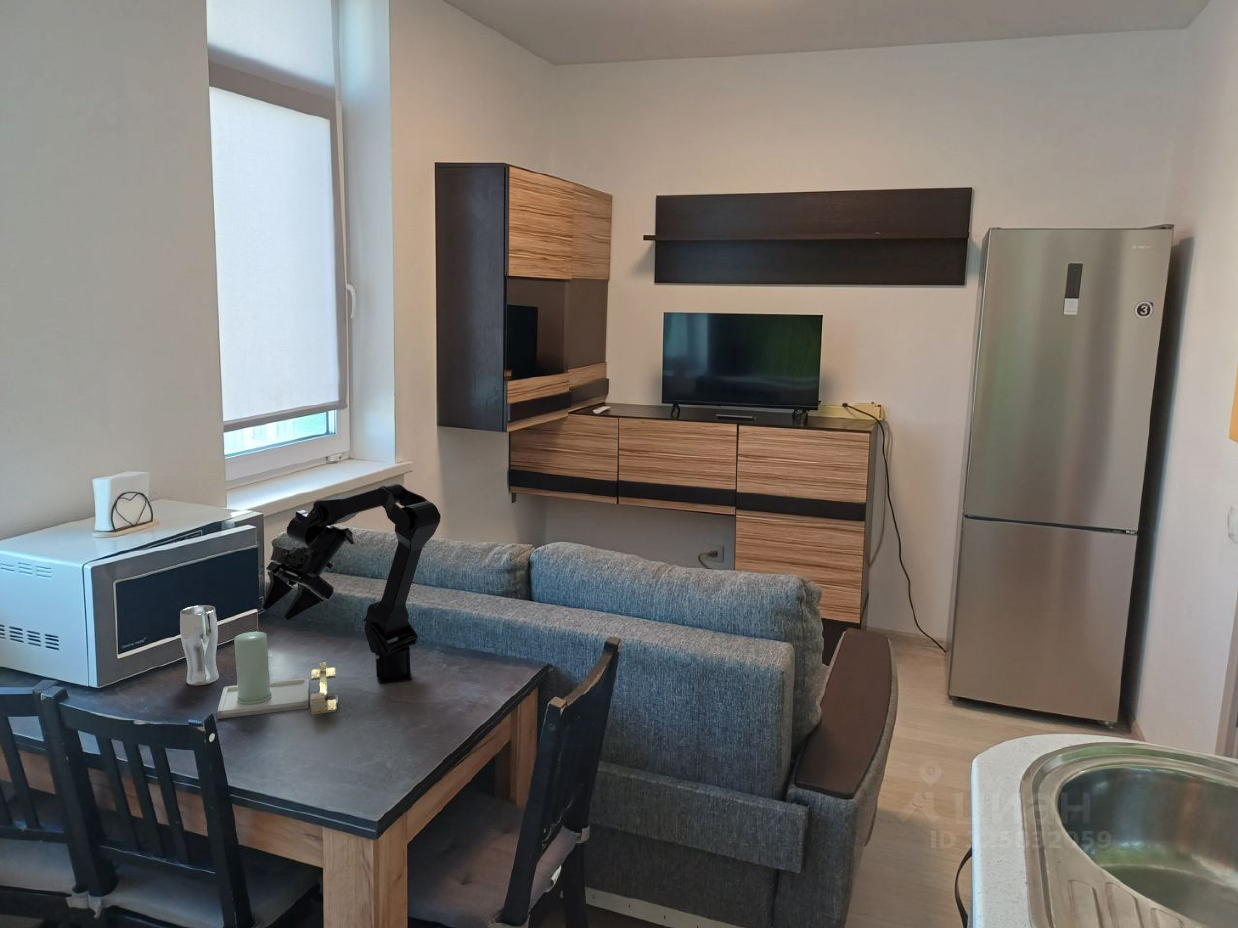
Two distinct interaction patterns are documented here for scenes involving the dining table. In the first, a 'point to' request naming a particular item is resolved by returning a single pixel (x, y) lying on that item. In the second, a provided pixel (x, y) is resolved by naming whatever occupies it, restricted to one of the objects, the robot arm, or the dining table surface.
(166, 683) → the dining table surface
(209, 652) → the beer glass
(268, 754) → the dining table surface
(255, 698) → the cup
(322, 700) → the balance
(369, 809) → the dining table surface
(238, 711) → the dish
